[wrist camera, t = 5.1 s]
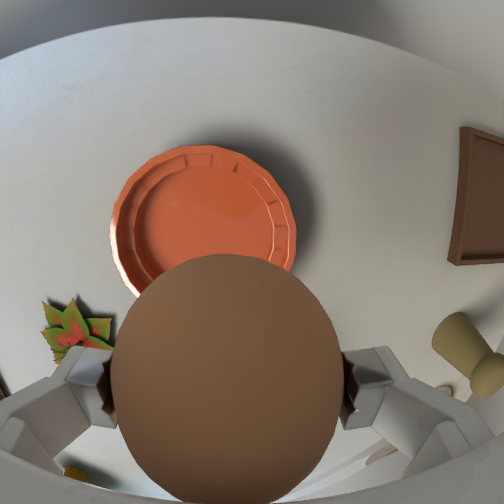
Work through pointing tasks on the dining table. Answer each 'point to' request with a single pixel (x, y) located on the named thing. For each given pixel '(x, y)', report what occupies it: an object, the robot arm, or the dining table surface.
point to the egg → (227, 380)
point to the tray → (479, 200)
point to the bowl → (198, 214)
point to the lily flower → (74, 330)
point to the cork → (469, 354)
